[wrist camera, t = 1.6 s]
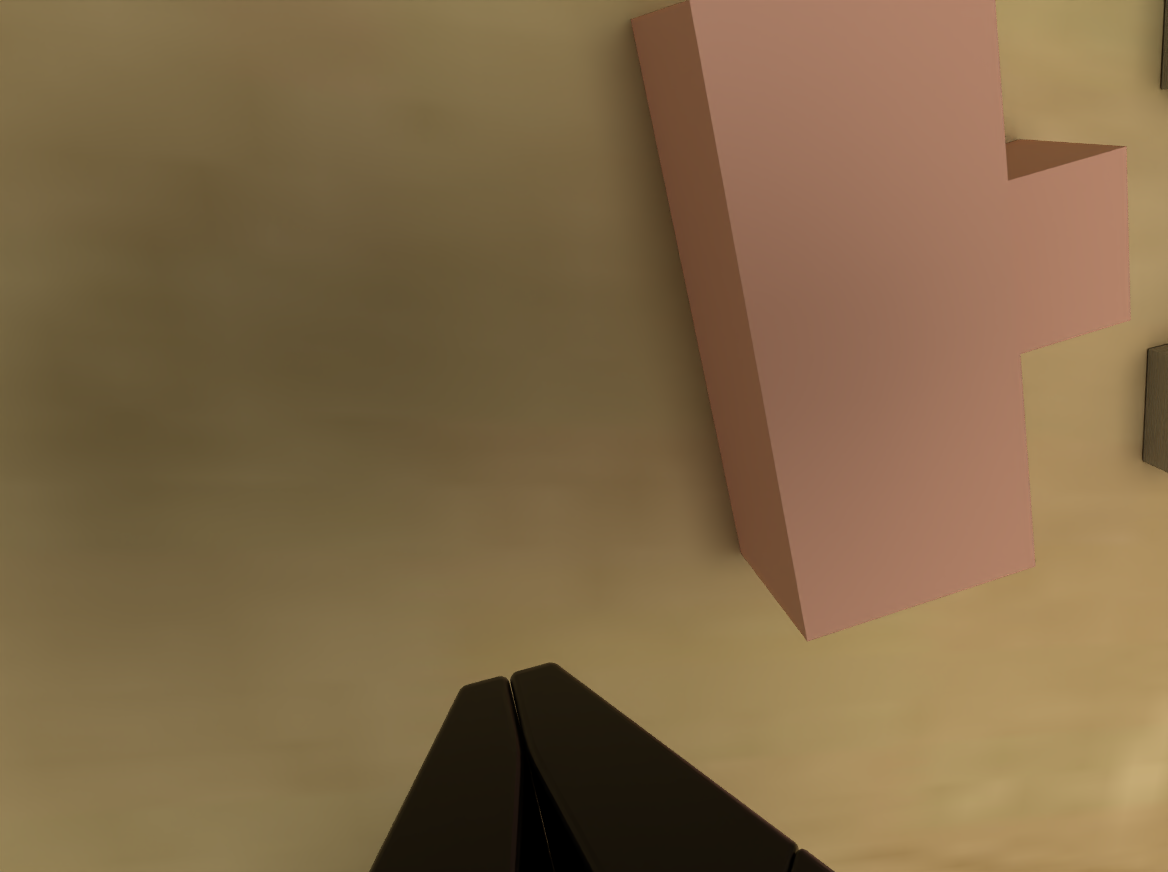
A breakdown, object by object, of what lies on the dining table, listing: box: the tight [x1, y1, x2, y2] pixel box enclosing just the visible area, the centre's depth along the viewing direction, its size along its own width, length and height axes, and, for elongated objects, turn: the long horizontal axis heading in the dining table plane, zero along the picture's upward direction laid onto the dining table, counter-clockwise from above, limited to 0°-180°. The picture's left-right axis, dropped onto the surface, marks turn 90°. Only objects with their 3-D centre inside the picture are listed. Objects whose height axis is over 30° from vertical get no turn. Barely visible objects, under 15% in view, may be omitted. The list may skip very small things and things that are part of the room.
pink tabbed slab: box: [631, 0, 1131, 641], centre depth 19 cm, size 12×8×4 cm, turn 14°
